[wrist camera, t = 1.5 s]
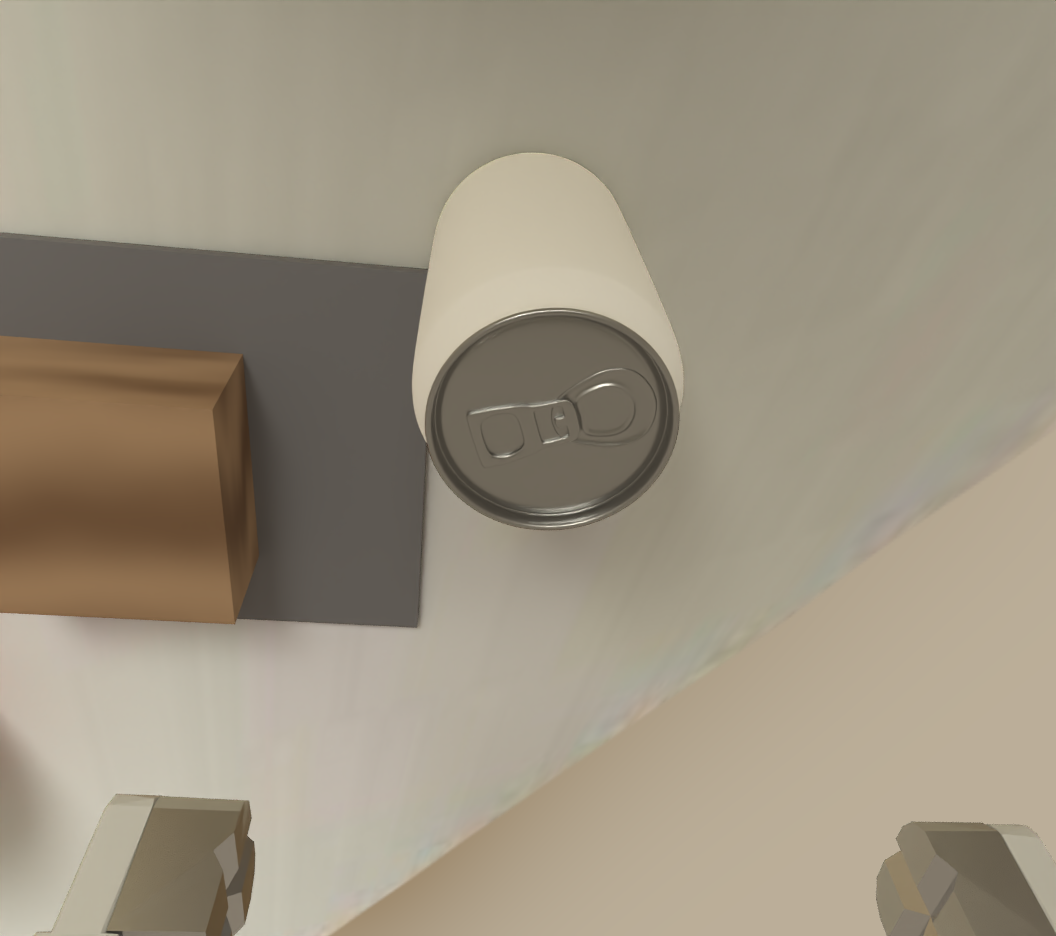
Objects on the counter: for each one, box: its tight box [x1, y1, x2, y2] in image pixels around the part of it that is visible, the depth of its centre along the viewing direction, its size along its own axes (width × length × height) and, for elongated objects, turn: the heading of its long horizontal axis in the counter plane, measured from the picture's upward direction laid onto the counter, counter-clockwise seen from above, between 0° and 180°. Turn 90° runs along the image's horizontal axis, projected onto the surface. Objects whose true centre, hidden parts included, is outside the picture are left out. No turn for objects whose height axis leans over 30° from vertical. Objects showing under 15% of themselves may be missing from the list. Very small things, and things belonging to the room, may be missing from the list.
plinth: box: [0, 336, 259, 624], centre depth 31 cm, size 9×9×4 cm
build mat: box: [0, 233, 428, 627], centre depth 33 cm, size 16×22×1 cm
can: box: [412, 153, 684, 530], centre depth 24 cm, size 6×6×12 cm
